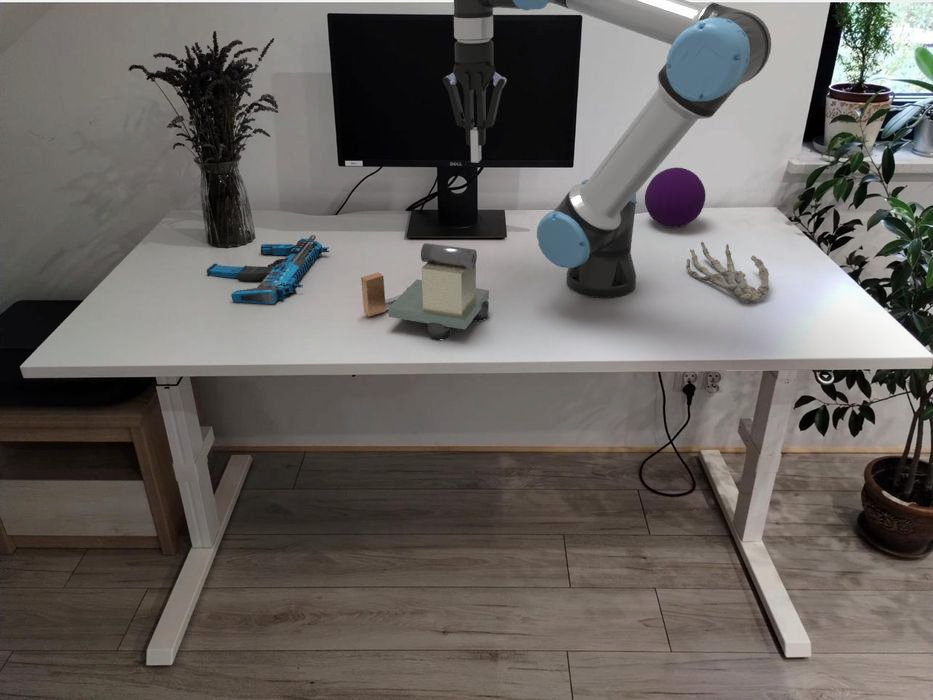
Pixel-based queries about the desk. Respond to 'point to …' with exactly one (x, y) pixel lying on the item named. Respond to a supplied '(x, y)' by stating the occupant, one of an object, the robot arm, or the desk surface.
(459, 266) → the footed square platform
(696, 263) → the skeleton model
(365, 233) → the desk surface
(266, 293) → the submachine gun
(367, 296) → the footscrew lever
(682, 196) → the toy ball
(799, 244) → the desk surface
